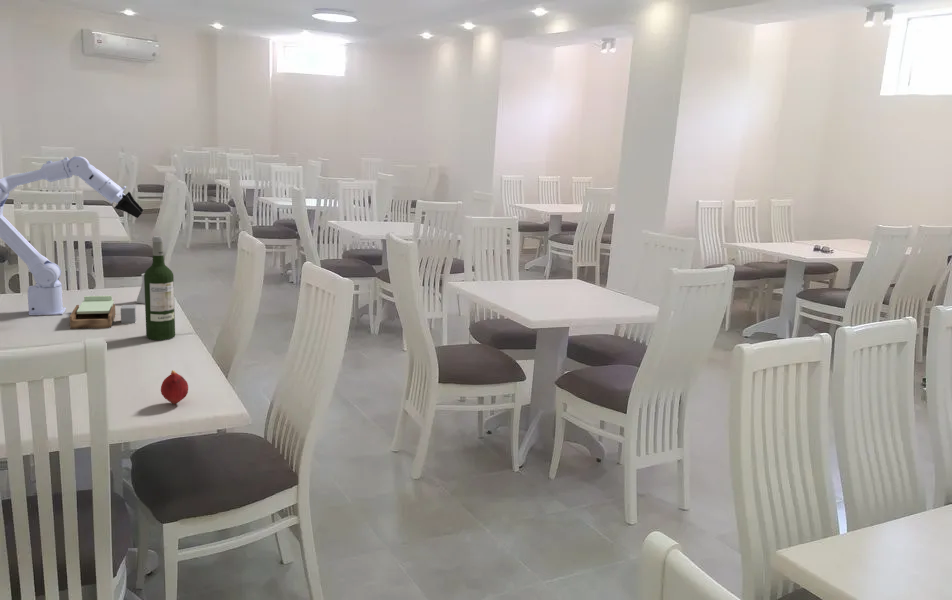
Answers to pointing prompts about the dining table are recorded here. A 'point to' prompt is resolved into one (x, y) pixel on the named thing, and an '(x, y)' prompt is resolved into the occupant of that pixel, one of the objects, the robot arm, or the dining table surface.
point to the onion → (174, 388)
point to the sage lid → (95, 305)
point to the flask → (141, 292)
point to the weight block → (128, 314)
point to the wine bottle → (159, 296)
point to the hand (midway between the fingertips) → (140, 214)
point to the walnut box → (91, 319)
